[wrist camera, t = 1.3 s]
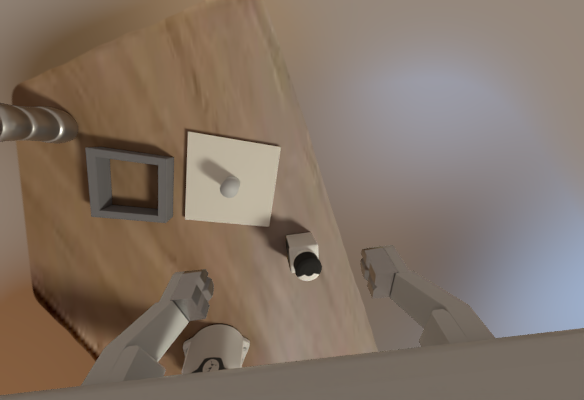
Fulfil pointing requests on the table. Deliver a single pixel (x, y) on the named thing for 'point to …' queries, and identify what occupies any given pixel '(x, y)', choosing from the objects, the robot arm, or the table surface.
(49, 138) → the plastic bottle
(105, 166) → the grey rectangular frame
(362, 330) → the table surface
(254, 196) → the post stand
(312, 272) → the medicine bottle
